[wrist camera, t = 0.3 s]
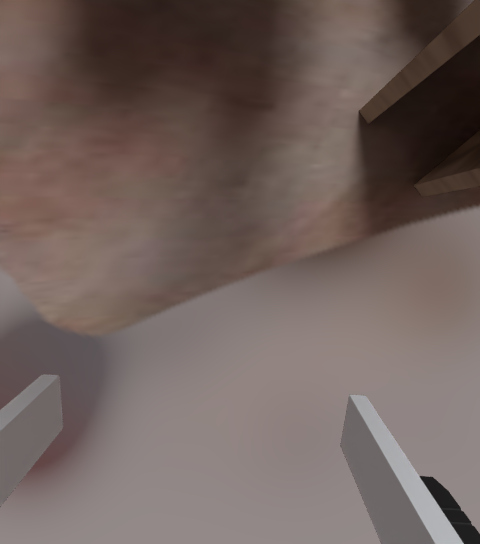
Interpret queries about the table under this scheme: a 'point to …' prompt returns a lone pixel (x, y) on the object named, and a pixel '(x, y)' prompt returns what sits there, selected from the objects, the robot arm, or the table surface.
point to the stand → (460, 32)
